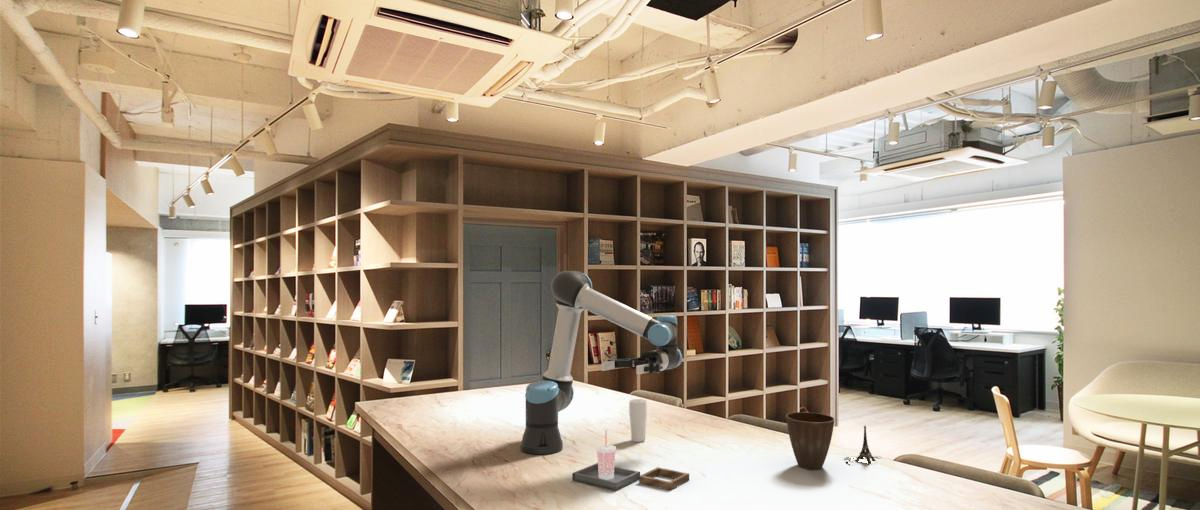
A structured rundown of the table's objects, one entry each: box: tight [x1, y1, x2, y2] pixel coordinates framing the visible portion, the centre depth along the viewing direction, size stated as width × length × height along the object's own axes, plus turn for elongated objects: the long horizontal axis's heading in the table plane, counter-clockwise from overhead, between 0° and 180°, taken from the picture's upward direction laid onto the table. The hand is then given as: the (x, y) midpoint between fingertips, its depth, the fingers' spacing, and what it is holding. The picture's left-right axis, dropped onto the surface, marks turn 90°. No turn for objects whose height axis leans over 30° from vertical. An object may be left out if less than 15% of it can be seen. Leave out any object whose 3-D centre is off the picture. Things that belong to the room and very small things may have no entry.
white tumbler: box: [628, 398, 648, 443], centre depth 235 cm, size 7×7×15 cm
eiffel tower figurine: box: [843, 425, 882, 465], centre depth 208 cm, size 15×10×13 cm
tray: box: [571, 462, 641, 492], centre depth 188 cm, size 16×13×2 cm
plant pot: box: [785, 411, 835, 471], centre depth 202 cm, size 15×15×16 cm
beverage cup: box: [595, 430, 617, 480], centre depth 188 cm, size 6×6×14 cm
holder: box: [638, 466, 690, 491], centre depth 186 cm, size 11×11×2 cm
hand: (619, 368), depth 200 cm, fingers open, 13 cm apart
